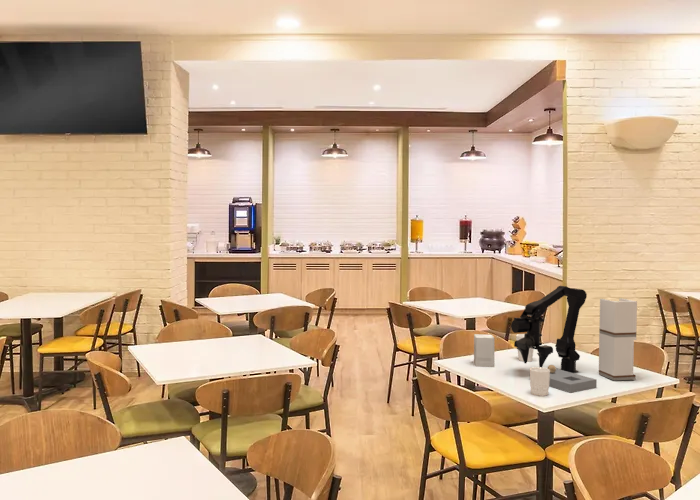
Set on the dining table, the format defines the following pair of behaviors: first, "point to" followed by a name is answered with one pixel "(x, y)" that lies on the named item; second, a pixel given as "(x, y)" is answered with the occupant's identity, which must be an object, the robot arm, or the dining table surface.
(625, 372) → the grey striped pillar
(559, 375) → the grey flat block
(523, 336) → the foam cup
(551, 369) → the ball
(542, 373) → the white cup
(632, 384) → the dining table surface
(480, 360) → the supplement box
